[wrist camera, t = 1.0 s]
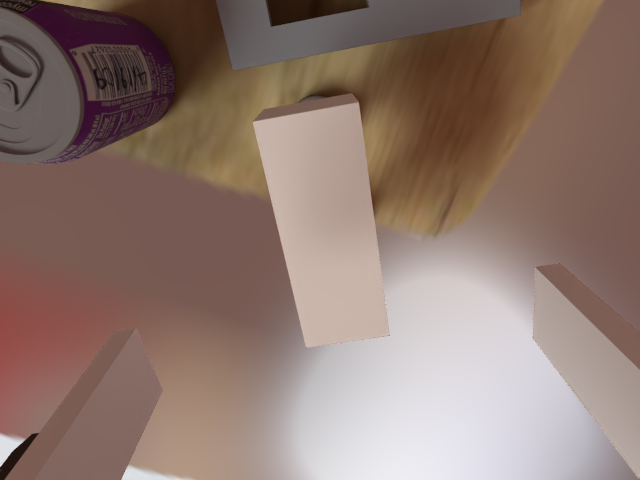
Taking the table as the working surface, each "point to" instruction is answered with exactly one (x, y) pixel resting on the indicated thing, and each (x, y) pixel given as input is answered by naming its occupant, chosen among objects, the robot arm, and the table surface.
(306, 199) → the bar
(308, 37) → the keyhole board
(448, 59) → the table surface
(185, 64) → the table surface
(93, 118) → the beverage can
